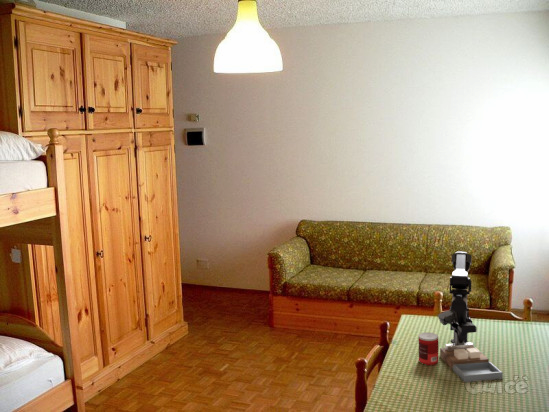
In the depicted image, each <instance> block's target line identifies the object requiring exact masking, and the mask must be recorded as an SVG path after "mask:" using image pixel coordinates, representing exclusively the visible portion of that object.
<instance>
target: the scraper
mask: <svg viewBox="0 0 549 412" xmlns="http://www.w3.org/2000/svg"><path fill="white" fill-rule="evenodd" d="M444 346H445V347H444V348H445V349H446V350H447V351H454V350H455V349H465V350H466V349H467V348H474V347H475V345H474V343H473V342H471V341H468V342H466V343H464V341H463V343H459V337H458V332H455V343H445V344H444Z"/></svg>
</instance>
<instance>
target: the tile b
mask: <svg viewBox="0 0 549 412" xmlns="http://www.w3.org/2000/svg"><path fill="white" fill-rule="evenodd" d="M466 351H467V352H468V357H469V358H480V352H481V351H480V350H479V349H478V348H477V347H475V348H467V349H466Z"/></svg>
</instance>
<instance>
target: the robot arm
mask: <svg viewBox="0 0 549 412" xmlns="http://www.w3.org/2000/svg"><path fill="white" fill-rule="evenodd" d="M472 259H473V258H472V254H470V253H468V252H466V251H456V252H455V253H451V262H450V263H451V265H452V266H453V267H452V268H453V271H452V272H451V276H450V277H449V294H452V299H451V304H450V306H449V310H446V311H443V312H441V313H438V315H437V317H438V320H439V323H441V324H442V325H443V326H447V325H449V326H450V328H449V329H450V331H453V339H450V342H452V344H454V343H455V332H458V337H459V343H463V341H464V343H466V342H469V341H468V334H469V333H470V334H472V333H477V331H478V330H477V329H478V328H477V326H476V325H475V324H474V323H473V320H472V317H470V313H469V312H470V308H469V307H468V295H470V293H471V292H472V280H471V278H470V277H469V271H470V269H471V266H472V261H473V260H472Z"/></svg>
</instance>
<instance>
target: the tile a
mask: <svg viewBox="0 0 549 412" xmlns="http://www.w3.org/2000/svg"><path fill="white" fill-rule="evenodd" d="M454 356H455V357H456V358H457V359H458V360H459V359H468V352H467V351H466V350H465V349H455V350H454Z"/></svg>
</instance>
